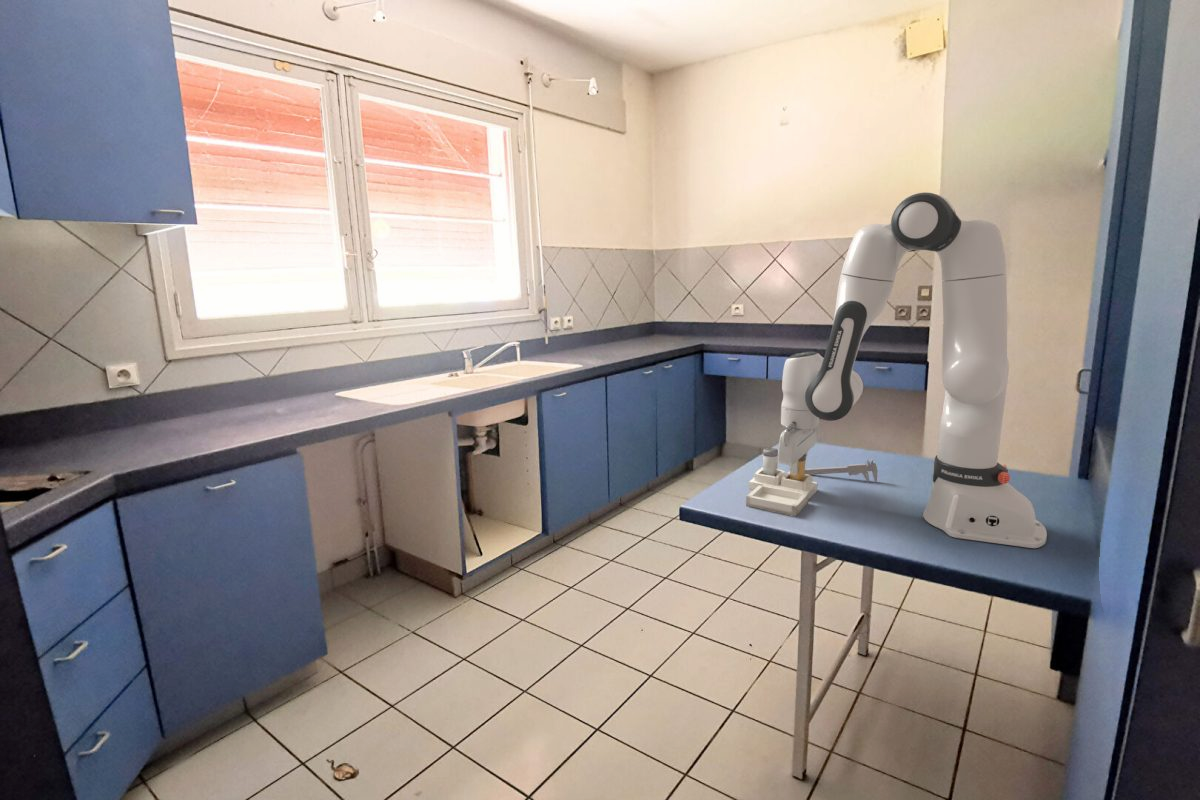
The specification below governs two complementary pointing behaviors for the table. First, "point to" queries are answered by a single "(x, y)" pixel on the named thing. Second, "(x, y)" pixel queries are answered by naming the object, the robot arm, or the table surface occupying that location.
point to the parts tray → (777, 500)
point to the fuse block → (780, 476)
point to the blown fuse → (800, 470)
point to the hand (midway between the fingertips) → (797, 471)
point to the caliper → (848, 470)
